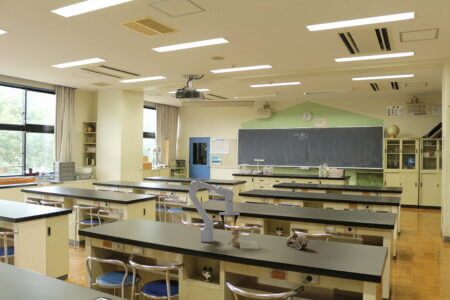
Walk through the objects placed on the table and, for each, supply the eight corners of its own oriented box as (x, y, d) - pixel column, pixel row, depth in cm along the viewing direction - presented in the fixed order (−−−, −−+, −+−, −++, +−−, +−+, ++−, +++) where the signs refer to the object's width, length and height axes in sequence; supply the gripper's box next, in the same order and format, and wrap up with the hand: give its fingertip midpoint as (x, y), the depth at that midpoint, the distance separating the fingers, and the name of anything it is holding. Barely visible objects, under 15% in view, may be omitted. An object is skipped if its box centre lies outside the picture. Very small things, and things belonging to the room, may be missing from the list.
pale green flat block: (239, 248, 225) (240, 246, 225) (238, 240, 245) (238, 238, 245) (259, 248, 225) (259, 246, 225) (256, 241, 245) (256, 239, 245)
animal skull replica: (290, 244, 239) (290, 229, 239) (311, 249, 226) (311, 234, 226) (283, 246, 233) (283, 231, 233) (303, 251, 221) (304, 236, 221)
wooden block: (231, 246, 231) (231, 232, 232) (231, 243, 239) (231, 229, 240) (238, 246, 231) (239, 232, 232) (238, 243, 239) (238, 230, 239)
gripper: (218, 207, 243) (219, 226, 243) (239, 207, 243) (239, 226, 243) (219, 205, 250) (219, 224, 250) (239, 205, 250) (239, 224, 250)
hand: (229, 225), depth 247 cm, fingers open, 7 cm apart
